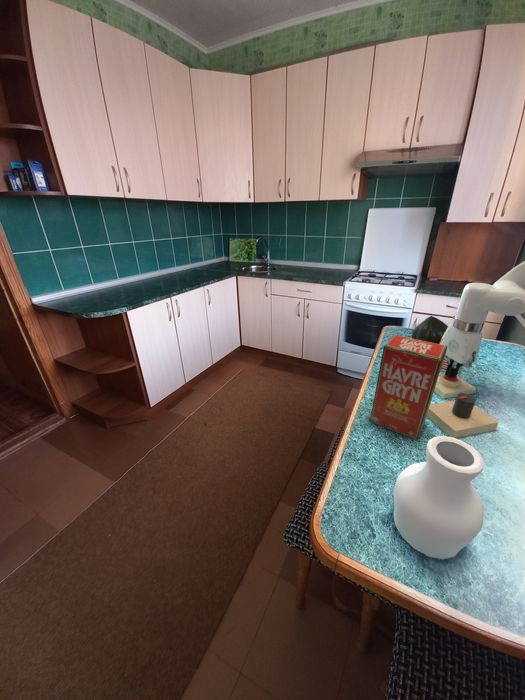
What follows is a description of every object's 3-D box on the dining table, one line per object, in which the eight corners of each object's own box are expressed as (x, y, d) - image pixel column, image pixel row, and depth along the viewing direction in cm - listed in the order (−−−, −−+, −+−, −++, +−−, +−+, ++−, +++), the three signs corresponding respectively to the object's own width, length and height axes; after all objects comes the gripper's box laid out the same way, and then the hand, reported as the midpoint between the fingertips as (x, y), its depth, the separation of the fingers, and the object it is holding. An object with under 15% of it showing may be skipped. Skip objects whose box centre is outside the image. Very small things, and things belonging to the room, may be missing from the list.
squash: (456, 350, 110) (458, 314, 114) (413, 346, 116) (416, 311, 119) (446, 359, 123) (448, 326, 127) (407, 355, 128) (410, 324, 132)
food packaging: (367, 421, 84) (382, 344, 73) (378, 405, 91) (393, 332, 79) (417, 441, 77) (442, 359, 65) (425, 422, 83) (449, 344, 72)
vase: (385, 546, 54) (407, 471, 45) (388, 485, 65) (407, 415, 56) (476, 582, 49) (522, 505, 39) (462, 508, 60) (496, 435, 51)
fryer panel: (462, 406, 89) (465, 398, 88) (495, 430, 80) (499, 421, 78) (423, 413, 87) (425, 405, 85) (451, 439, 77) (455, 430, 76)
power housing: (450, 377, 104) (453, 368, 102) (474, 393, 95) (478, 383, 93) (421, 382, 102) (424, 372, 100) (443, 399, 93) (446, 388, 91)
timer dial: (461, 407, 84) (467, 391, 82) (473, 417, 80) (480, 400, 78) (448, 409, 84) (453, 393, 81) (460, 419, 80) (466, 402, 77)
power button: (449, 376, 99) (451, 372, 98) (458, 382, 96) (460, 378, 95) (440, 378, 98) (442, 373, 97) (449, 384, 95) (450, 379, 94)
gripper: (438, 317, 94) (424, 366, 102) (478, 335, 81) (458, 390, 89) (458, 315, 95) (442, 363, 103) (500, 333, 82) (479, 386, 90)
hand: (450, 375), depth 96 cm, fingers closed
